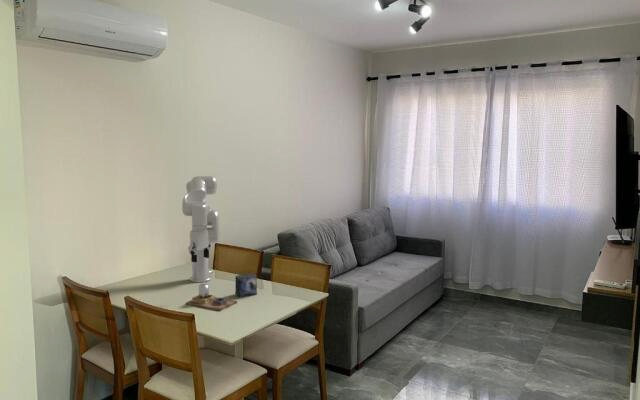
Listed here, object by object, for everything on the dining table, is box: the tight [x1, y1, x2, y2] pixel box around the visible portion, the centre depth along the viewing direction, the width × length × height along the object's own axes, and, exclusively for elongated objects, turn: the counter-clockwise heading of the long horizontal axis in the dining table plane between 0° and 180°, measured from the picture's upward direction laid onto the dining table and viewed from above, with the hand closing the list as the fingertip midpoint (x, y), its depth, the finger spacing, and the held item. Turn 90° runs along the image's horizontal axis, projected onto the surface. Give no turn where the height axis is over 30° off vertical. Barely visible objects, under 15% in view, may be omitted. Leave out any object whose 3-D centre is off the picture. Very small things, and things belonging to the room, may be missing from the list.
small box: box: [234, 273, 258, 298], centre depth 264 cm, size 11×6×10 cm, turn 117°
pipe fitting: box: [198, 283, 210, 300], centre depth 251 cm, size 5×5×8 cm
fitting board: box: [185, 294, 238, 312], centre depth 249 cm, size 14×22×3 cm, turn 64°
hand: (200, 259), depth 254 cm, fingers open, 9 cm apart
